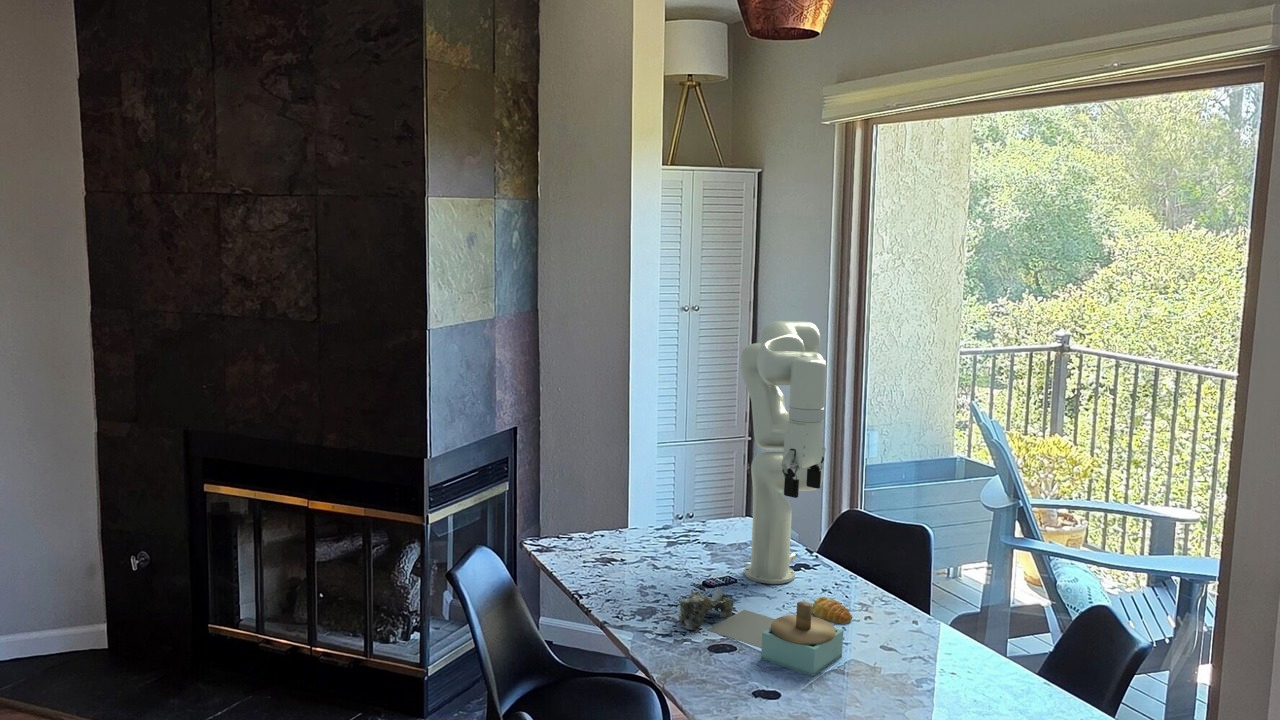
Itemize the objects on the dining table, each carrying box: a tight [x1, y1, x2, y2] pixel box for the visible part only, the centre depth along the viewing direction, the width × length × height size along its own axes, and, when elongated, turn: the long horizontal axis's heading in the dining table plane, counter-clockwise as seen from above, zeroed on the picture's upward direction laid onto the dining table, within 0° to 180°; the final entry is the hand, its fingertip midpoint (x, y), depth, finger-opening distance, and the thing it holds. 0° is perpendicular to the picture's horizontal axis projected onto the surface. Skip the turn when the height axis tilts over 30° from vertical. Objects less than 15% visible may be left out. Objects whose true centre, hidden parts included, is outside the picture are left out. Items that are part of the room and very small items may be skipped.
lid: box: [771, 601, 836, 645], centre depth 210 cm, size 13×13×6 cm
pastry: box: [811, 596, 853, 625], centre depth 233 cm, size 9×7×4 cm
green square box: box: [760, 627, 844, 677], centre depth 211 cm, size 12×12×6 cm
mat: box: [706, 609, 776, 649], centre depth 225 cm, size 15×15×1 cm
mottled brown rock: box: [677, 586, 735, 633], centre depth 229 cm, size 12×11×15 cm
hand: (802, 491), depth 224 cm, fingers open, 9 cm apart
